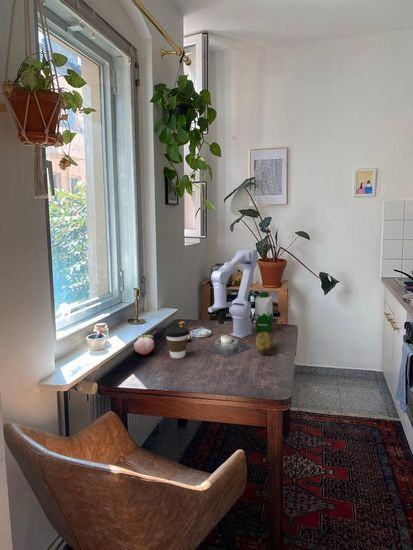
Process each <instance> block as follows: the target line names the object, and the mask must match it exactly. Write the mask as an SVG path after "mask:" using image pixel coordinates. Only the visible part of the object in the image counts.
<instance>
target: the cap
mask: <svg viewBox="0 0 413 550" xmlns="http://www.w3.org/2000/svg"><path fill="white" fill-rule="evenodd" d="M220 338H221V343H222V344H229V343H232V338H233V337H232V335H230V334H222V335H221V336H220Z"/></svg>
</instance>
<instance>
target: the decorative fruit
mask: <svg viewBox="0 0 413 550" xmlns="http://www.w3.org/2000/svg"><path fill="white" fill-rule="evenodd" d="M139 336H140V337H139V338H138V340H137V341H136V342H135V343H134V342H133V348H134V350H135V352H136V353H138V354H140V355H142V356H145V355H148V354H149V353H150V352H152V351H153V349H154V348H155V341H154V339H155V337H154V336H153V335H151V334H146V335H145V334H144V333H142V335H139Z"/></svg>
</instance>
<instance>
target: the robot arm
mask: <svg viewBox="0 0 413 550" xmlns="http://www.w3.org/2000/svg"><path fill="white" fill-rule="evenodd" d="M258 261H259V254H258V251H257V250H256V249H242V248H240V249H238V250H237V251H236V252H235V256H234V257H233V258H232V260H230V261H226V262H224V264H223V265H222V266H220V268H218V269H217V270H214V271H213V272H212V273H211V275H210V280H211V283H212V286H213V298H214V299H213V301H214V303H213V304H212V306H210V307H208V308H207V309H208V310H207V311H208V312H209V313H214V314H215V316H216V319H217V322H218V324H219V325H224V324H225V320H226V317H227V313H228V312H229V315H230V316H231V318H232V323H233V324H232V326H233V327H232V329H233V330H232V331H233V332H231V333H230V334H229V335H230V336H234V337H238V338H240V339H241V338H245V337H247V336H250V335H252V334H254V333H253V331H252V330H253V328H252V319H251V317H250V316H251V313H252V309H251V308H252V304H251V303H250V301H248V299H249V294H250V291H251V286H252V282H253V278H254V277H253V276H254V273H255V269H256V267H257V264H258ZM239 265H240V266H241V267H242V268H243V273H242V277H241V281H240V285H239V289H238V294H237V297H236V298H235V299H234V300H232V301H228V302H227V283H228V281H229V278H230V276H231V275H232V274H233V273H235V270H236V267H237V266H239Z"/></svg>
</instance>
